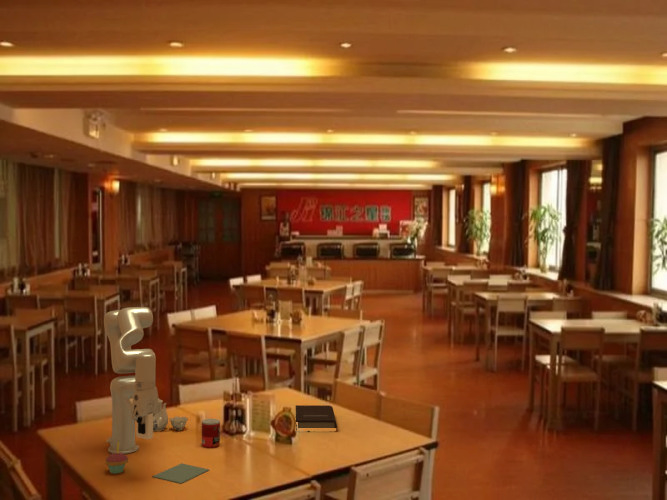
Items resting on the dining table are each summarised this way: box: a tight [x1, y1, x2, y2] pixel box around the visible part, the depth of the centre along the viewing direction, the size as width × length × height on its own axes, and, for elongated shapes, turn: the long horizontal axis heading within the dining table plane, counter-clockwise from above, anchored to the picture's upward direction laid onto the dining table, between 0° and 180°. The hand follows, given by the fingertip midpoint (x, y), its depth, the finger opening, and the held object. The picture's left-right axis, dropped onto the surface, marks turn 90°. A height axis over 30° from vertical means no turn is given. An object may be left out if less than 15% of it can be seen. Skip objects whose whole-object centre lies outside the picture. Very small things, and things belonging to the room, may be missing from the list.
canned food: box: [201, 418, 221, 449], centre depth 311 cm, size 8×8×11 cm
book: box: [295, 404, 338, 429], centre depth 349 cm, size 28×20×6 cm
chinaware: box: [153, 397, 189, 433], centre depth 337 cm, size 28×17×17 cm, turn 57°
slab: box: [135, 412, 154, 440], centre depth 272 cm, size 6×3×10 cm, turn 62°
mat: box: [152, 463, 210, 485], centre depth 275 cm, size 14×17×1 cm
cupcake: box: [104, 440, 129, 475], centre depth 276 cm, size 9×8×12 cm
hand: (144, 431), depth 272 cm, fingers closed on slab, 2 cm apart
